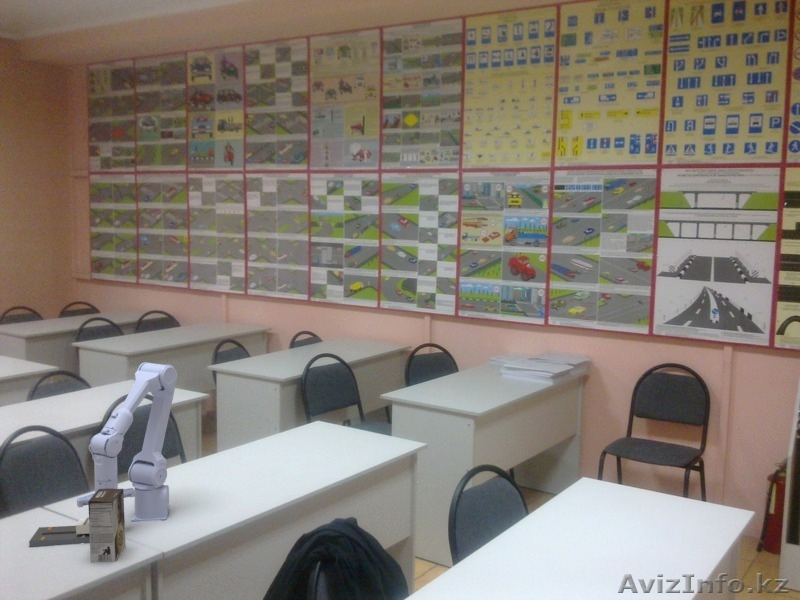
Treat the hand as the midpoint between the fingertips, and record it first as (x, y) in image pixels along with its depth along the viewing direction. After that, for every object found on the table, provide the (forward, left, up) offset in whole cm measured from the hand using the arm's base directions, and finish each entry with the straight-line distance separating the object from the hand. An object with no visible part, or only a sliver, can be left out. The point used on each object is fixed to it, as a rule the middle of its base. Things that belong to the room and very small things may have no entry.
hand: (106, 527), depth 203 cm
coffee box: (-3, +13, -3) cm, 14 cm away
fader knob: (+5, 0, 0) cm, 5 cm away
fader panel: (+10, 0, -2) cm, 11 cm away
